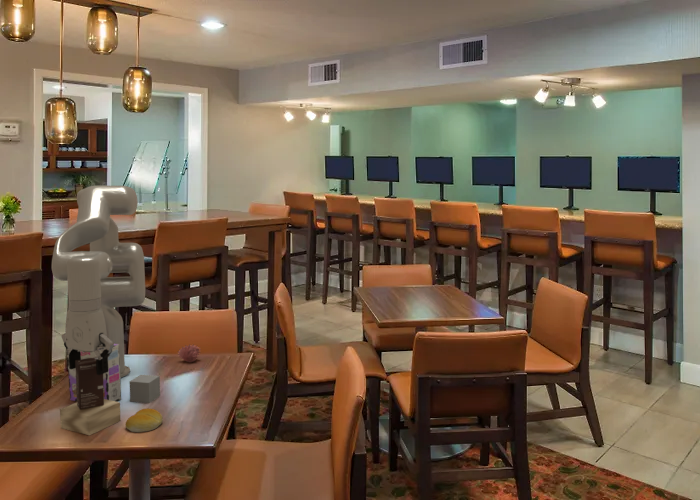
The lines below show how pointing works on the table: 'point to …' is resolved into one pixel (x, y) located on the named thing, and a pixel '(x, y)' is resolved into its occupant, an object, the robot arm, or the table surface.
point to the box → (88, 384)
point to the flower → (189, 353)
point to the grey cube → (144, 388)
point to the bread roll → (144, 420)
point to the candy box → (109, 378)
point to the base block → (90, 417)
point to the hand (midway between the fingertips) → (88, 370)
